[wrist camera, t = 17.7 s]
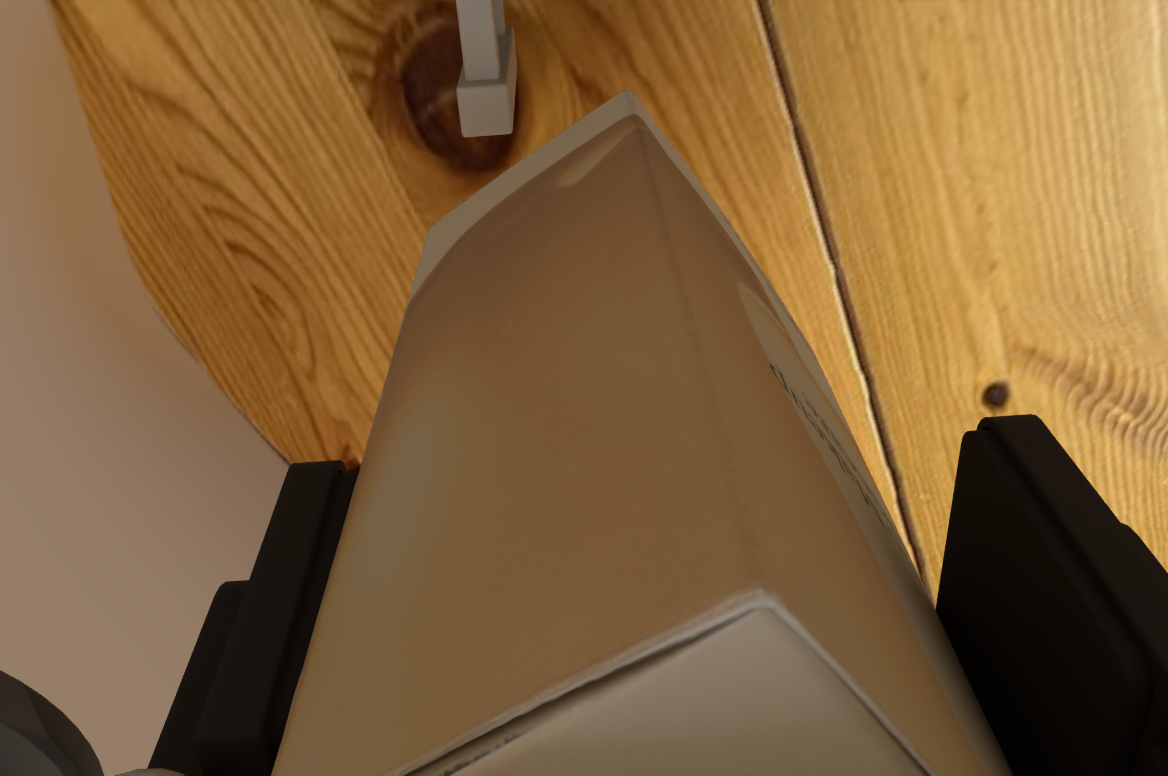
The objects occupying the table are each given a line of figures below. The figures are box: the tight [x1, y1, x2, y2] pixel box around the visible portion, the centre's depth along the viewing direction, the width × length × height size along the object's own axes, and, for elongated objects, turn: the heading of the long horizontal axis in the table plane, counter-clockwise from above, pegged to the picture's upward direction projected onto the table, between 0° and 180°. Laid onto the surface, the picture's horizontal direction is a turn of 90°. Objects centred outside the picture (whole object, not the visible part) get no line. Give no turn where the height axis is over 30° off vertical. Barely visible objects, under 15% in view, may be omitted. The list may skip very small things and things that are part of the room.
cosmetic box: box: [271, 90, 1014, 776], centre depth 13 cm, size 6×4×12 cm
